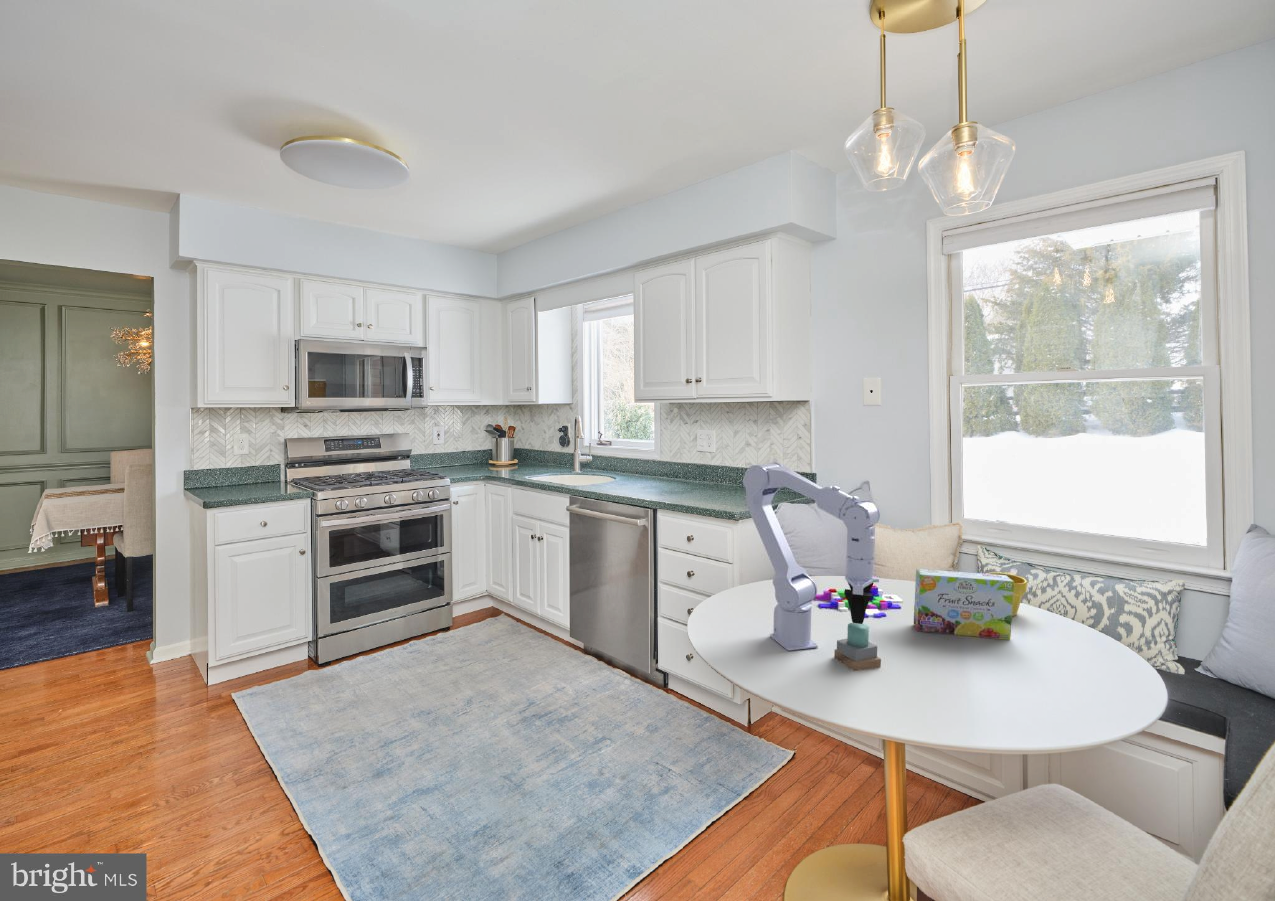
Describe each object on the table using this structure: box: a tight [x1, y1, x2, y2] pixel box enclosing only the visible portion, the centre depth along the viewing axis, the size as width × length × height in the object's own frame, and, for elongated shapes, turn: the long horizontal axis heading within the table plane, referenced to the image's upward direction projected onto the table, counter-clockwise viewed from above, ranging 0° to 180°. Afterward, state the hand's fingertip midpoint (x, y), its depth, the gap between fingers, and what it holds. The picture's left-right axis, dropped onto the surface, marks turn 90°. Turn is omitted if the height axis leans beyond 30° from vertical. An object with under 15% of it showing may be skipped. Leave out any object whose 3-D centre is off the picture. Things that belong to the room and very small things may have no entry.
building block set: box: [813, 584, 904, 619], centre depth 175 cm, size 25×20×4 cm
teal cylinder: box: [846, 622, 870, 648], centre depth 137 cm, size 4×4×4 cm
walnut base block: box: [834, 648, 882, 671], centre depth 137 cm, size 7×7×2 cm
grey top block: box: [836, 638, 878, 662], centre depth 137 cm, size 6×6×2 cm
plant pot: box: [985, 572, 1028, 617], centre depth 169 cm, size 10×10×10 cm
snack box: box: [913, 568, 1014, 641], centre depth 154 cm, size 21×6×15 cm, turn 76°
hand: (858, 617), depth 136 cm, fingers open, 7 cm apart
